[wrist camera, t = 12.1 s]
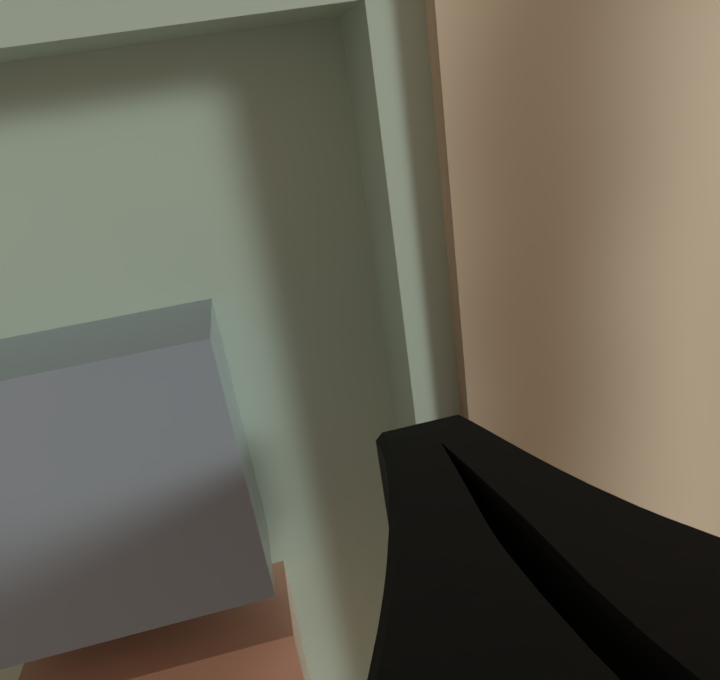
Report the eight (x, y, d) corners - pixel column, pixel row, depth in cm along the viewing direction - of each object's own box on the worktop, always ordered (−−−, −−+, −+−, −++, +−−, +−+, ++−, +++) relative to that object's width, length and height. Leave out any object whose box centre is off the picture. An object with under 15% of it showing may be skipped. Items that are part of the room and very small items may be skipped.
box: (371, -39, 10) (417, -80, 8) (464, 774, 18) (501, 874, 16) (-556, 78, 8) (-870, 68, 6) (6, 921, 16) (-30, 1060, 14)
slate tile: (-165, 414, 8) (-95, 357, 10) (-24, 675, 10) (13, 587, 12) (209, 338, 9) (211, 297, 11) (275, 596, 11) (267, 525, 13)
